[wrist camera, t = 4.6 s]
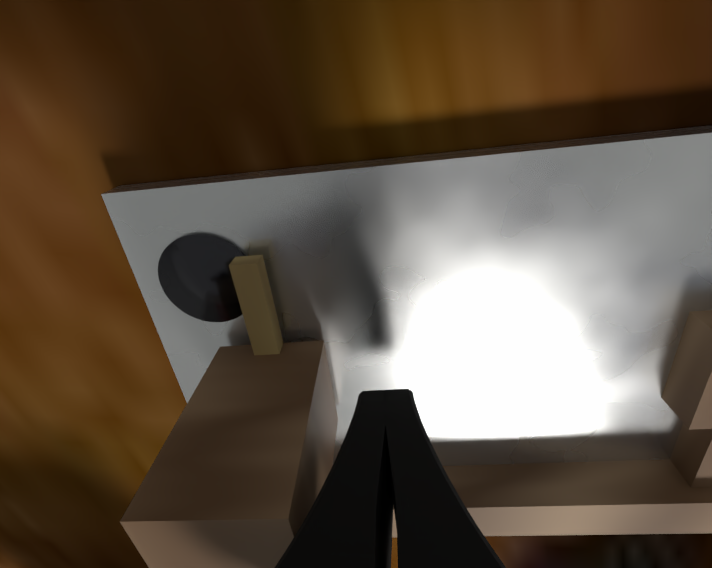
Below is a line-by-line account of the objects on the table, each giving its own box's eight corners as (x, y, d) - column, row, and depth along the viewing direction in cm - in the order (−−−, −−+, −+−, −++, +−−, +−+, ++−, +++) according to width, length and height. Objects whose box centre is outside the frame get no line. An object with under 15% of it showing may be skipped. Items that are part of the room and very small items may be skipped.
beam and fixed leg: (868, 199, 9) (953, 222, 8) (724, 487, 14) (761, 532, 12) (146, 260, 10) (113, 287, 9) (239, 498, 15) (225, 539, 14)
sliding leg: (307, 250, 10) (250, 398, 5) (352, 499, 14) (341, 690, 10) (191, 260, 10) (47, 408, 6) (270, 500, 15) (224, 687, 10)
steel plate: (894, 106, 9) (946, 110, 8) (720, 470, 14) (741, 494, 13) (119, 185, 10) (98, 195, 10) (234, 483, 16) (227, 505, 15)
